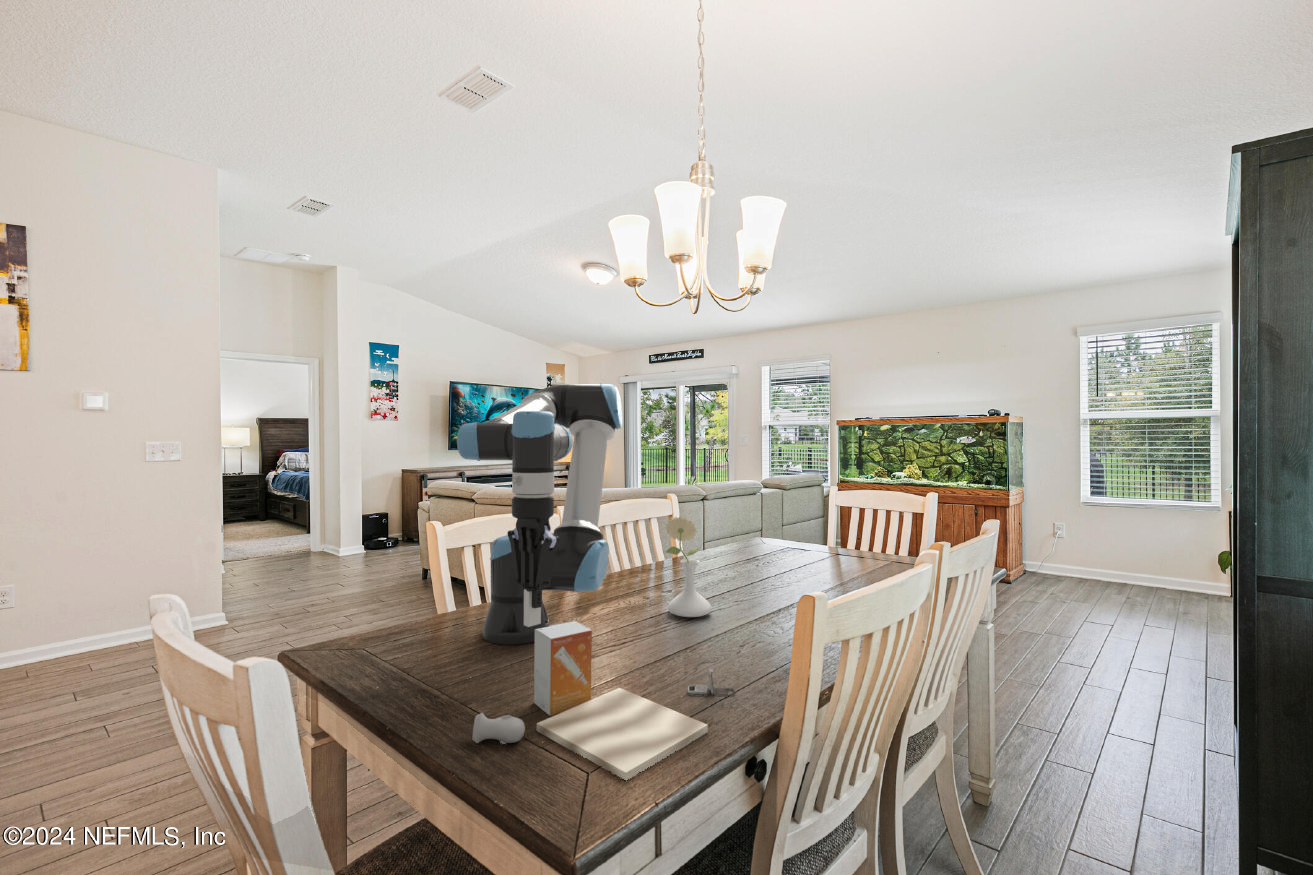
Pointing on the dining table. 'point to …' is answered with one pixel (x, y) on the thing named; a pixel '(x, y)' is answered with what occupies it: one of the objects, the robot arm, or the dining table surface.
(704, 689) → the strap clip
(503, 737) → the smooth white sculpture
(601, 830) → the dining table surface
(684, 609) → the flower in vase
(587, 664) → the small box
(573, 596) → the dining table surface
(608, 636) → the dining table surface
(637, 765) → the birch board
